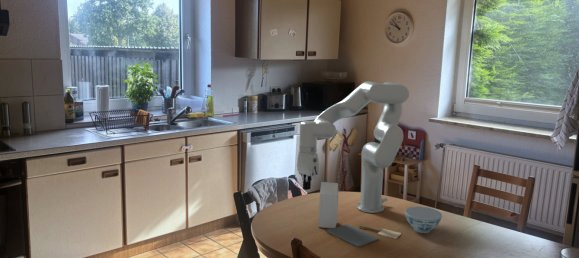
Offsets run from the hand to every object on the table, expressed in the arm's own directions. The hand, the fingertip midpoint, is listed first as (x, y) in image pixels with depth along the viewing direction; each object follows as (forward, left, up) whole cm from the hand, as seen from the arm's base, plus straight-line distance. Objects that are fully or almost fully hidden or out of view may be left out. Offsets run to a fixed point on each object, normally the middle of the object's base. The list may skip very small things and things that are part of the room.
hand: (306, 189), depth 219 cm
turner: (-12, +32, -12) cm, 37 cm away
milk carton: (0, +15, -12) cm, 19 cm away
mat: (0, +29, -12) cm, 31 cm away
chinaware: (-29, +42, -12) cm, 52 cm away
